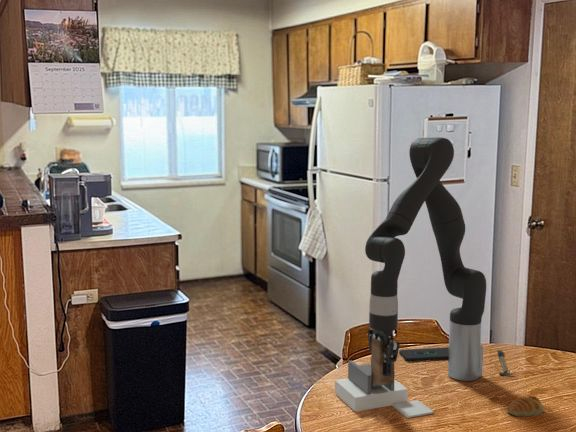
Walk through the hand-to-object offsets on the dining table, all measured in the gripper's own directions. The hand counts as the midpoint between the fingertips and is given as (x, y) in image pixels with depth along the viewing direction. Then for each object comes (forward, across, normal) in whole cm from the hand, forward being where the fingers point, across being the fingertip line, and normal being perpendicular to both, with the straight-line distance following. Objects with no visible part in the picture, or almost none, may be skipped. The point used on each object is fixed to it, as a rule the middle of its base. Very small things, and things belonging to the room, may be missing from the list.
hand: (382, 371), depth 186 cm
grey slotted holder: (+10, +7, 0) cm, 12 cm away
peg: (+3, 0, 0) cm, 3 cm away
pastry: (+11, -16, -35) cm, 40 cm away
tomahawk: (+10, +15, -53) cm, 56 cm away
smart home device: (+10, +30, -35) cm, 47 cm away
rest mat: (+10, -4, -7) cm, 13 cm away
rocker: (+3, +7, 0) cm, 8 cm away
